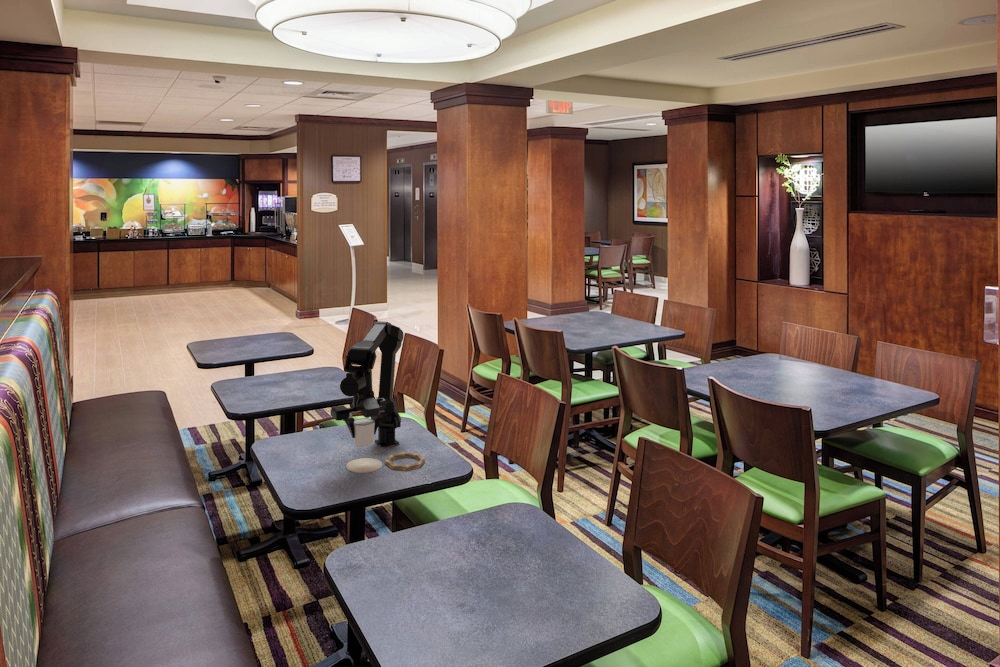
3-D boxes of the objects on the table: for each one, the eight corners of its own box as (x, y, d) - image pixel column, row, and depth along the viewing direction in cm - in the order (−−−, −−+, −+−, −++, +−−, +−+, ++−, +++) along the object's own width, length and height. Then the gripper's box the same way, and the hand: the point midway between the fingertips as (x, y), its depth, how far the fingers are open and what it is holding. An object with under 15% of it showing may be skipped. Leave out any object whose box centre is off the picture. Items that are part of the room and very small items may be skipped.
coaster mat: (340, 463, 224) (340, 462, 224) (374, 456, 229) (374, 455, 229) (353, 475, 215) (353, 474, 214) (388, 468, 220) (387, 467, 220)
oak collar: (381, 460, 227) (381, 456, 226) (413, 453, 233) (413, 450, 232) (396, 472, 217) (395, 469, 217) (429, 465, 223) (429, 461, 223)
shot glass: (356, 438, 224) (355, 417, 223) (378, 439, 224) (377, 418, 222) (349, 446, 218) (349, 424, 216) (371, 447, 217) (371, 425, 215)
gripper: (342, 398, 205) (343, 449, 209) (402, 389, 215) (402, 438, 218) (329, 388, 215) (330, 438, 218) (387, 380, 224) (387, 427, 228)
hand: (363, 435), depth 220 cm, fingers closed on shot glass, 6 cm apart
